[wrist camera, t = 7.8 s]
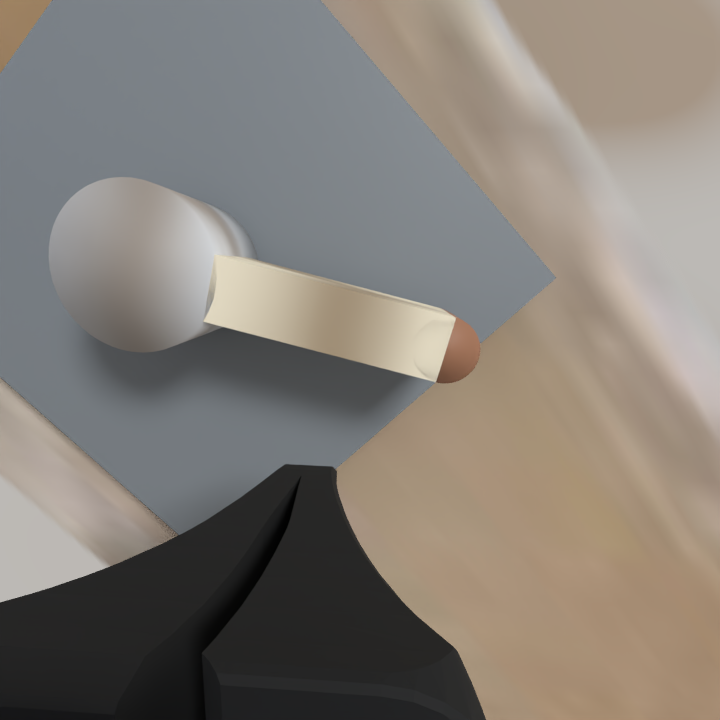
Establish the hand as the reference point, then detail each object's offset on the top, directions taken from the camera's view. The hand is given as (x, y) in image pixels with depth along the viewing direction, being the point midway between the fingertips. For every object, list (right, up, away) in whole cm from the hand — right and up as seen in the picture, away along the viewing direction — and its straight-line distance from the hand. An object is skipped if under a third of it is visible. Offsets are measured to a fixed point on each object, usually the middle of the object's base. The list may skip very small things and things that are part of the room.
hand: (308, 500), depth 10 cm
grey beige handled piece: (-1, +6, +6) cm, 9 cm away
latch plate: (-5, +8, +8) cm, 12 cm away
